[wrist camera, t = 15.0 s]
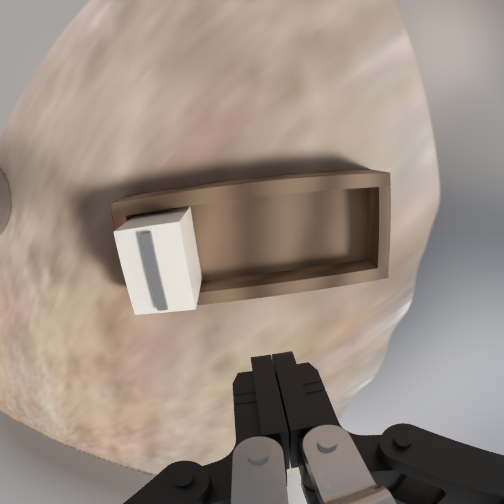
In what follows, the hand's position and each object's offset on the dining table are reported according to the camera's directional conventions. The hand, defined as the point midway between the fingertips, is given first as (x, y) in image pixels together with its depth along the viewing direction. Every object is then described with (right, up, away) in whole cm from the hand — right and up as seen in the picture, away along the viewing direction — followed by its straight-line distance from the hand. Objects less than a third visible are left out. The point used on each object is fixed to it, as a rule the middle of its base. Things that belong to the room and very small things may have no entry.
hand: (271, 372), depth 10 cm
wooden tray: (0, +6, +18) cm, 19 cm away
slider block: (-8, +5, +16) cm, 19 cm away
